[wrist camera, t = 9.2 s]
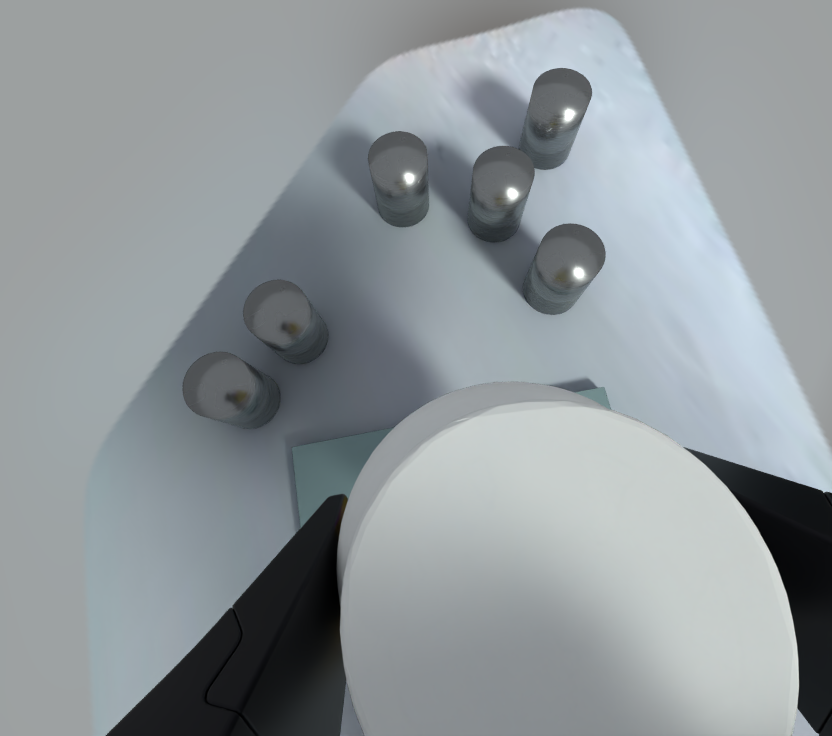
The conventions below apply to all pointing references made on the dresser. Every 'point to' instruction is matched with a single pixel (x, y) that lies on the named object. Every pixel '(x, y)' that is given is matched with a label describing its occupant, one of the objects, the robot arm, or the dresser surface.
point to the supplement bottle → (556, 580)
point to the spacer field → (406, 206)
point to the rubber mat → (349, 463)
